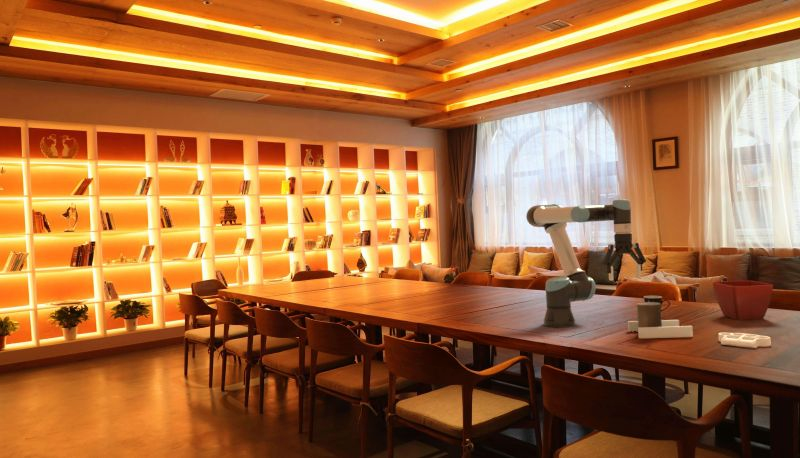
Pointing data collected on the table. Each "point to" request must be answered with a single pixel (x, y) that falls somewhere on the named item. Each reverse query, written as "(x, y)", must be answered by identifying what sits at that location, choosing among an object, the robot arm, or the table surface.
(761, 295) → the plant pot
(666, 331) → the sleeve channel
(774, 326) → the table surface
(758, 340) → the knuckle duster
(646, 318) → the pillar candle
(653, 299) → the coffee mug
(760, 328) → the table surface
